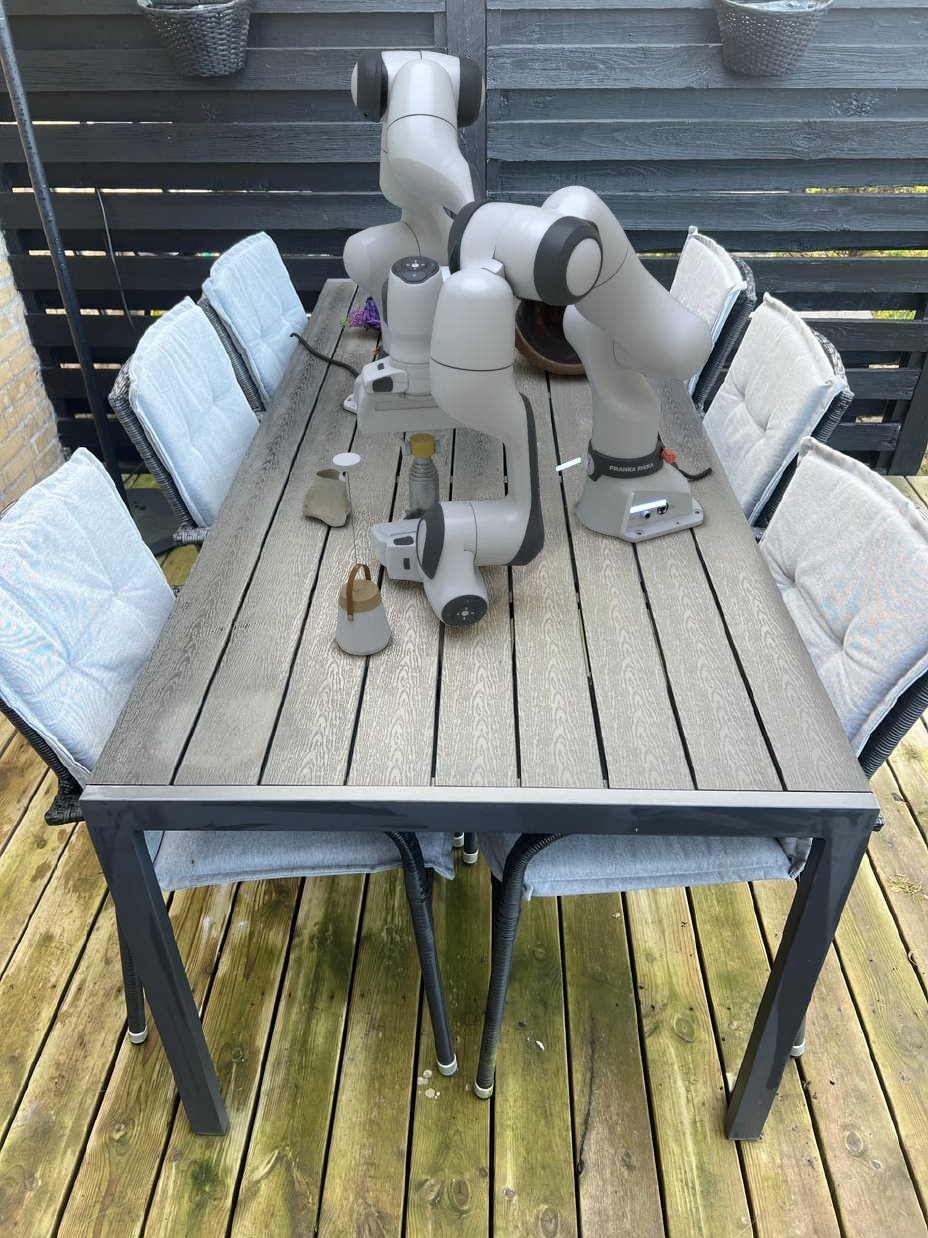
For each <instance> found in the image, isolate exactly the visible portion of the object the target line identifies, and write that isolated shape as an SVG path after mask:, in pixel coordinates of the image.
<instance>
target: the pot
mask: <svg viewBox="0 0 928 1238" xmlns="http://www.w3.org/2000/svg"><path fill="white" fill-rule="evenodd" d="M515 298H517V299H519V300H521V302H520V304H519V306H518V308H517V311H516V313H515V349H516V351H518V353H519V354H520V355H521V356H522V357H523V358H525V359H526V360H527V361H528V362H530V363H531V364H532V365H533V366H535V367H537V368H539V369H542V370H543V371H547V372H550V373H552V374H555V375H556V374H557V375H564V376H575V375H576V376H577V375H583V374H584V375H586V371H585V368H584V366H583V364H582V361H581V359H580V358H579V356H578V354H577V352H576V351H575V350H574V348H573V347H572V346H571V344H570V343H569V342H568V341H567V339H566V337H565V334H564V329H563V318H564V313H565V310H566V307H567V305H566V306H560V305H549V304H546V303H545V302H543V301H538V300H532V299H527V298H522V297H518V296H516V297H515Z"/></svg>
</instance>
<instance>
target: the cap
mask: <svg viewBox="0 0 928 1238" xmlns="http://www.w3.org/2000/svg"><path fill="white" fill-rule="evenodd" d="M435 440H436V438H435V435H433V434H430V433H428V432H419V433H414V434H413V435H411V436H410V437H409V442H410V445H411V452H412V455H411V456H413V457H414V456H415V457H419V458H426V457H430V456H432V457H433V456H434V455H435Z"/></svg>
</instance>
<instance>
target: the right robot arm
mask: <svg viewBox="0 0 928 1238" xmlns="http://www.w3.org/2000/svg"><path fill="white" fill-rule="evenodd" d="M453 220H454V221H453V223H452V226H451V229H450V232H449V238H448V266H449V271H450V276H449V277H448V278H447V279H446V280H445V282H444V283H443V285H442V288H441V291H440V295H439V299H438V303H437V307H436V312H435V317H434V323H433V329H432V338H431V348H430V367H429V373H430V388H431V393H432V396H433V398H434V400H435V402H436V403H437V405H438V406H439V408H440V409H441V410H442V411H443V412H444V413H445V414H447V415H448V416H449V417H450V418H452V419H453V420H455V421H456V422H458V423H460V424H462V425H464V426H466V427H468V429H472V430H474V431H477V432H480V433H482V434H485V435H488V436H490V437H493V438H495V439H497V440H498V441H500V442H501V443H503V444H504V445H503V446H504V449H505V459H506V472H507V473H506V474H507V484H508V492H507V494H506V495H505V496H503V497H502V498H499V499H484V500H483V499H482V500H450V501H449V500H447V501H445V500H444V501H440V502H435V503H434V504H433V505H431V506H430V507H429V508H428V509H427V511H426V512H425V513H424V515H423V516H422V517H421V518H419V519H411V517H412V514H411V512H410V509H405V510H404V509H403V510H401V512H400V513H401V514H400V515H401V516H400V518H399V519H398V520H397V521H391V522H390V521H389V522H382V523H375V524H373V525H371V527H370V528H369V537H370V545H371V548H372V550H373V553H374V555H375V557H376V559H377V560H378V562H379V563H380V565H382V566H383V567H386V571H387V574H388V577H389V578H390V579H392V580H402V581H403V580H405V581H413V582H420V583H423V588H424V592H425V595H426V597H427V600H428V602H429V604H430V606H431V608H432V610H433V611H434V613H435V615H436V616H437V618H438V619H439V620H440V621H441V622H442V623H443V624H445V625H446V626H449V627H452V628H463V627H468V626H472V625H474V624H476V623H477V624H478V622H480V621H481V620H483V619H484V618H485V616H486V615H487V613H488V611H489V607H490V605H489V598H488V597H489V596H488V591H487V588H486V584H485V582H484V579H483V576H482V573H481V572H480V569H479V567H485V566H508V567H510V566H511V567H526V566H527V565H529V564H530V563H532V561H534V560H535V559H536V558H537V556H539V554H540V553H541V552H542V551H543V549H544V547H545V539H546V536H545V534H546V531H545V523H544V517H543V509H542V503H541V502H542V501H541V490H540V489H541V487H540V472H539V454H538V452H539V451H538V438H537V429H536V419H535V414H534V410H533V407H532V404H531V402H530V399H529V397H528V396H527V395H526V394H523V393H522V392H520V391H519V389H518V387H517V384H516V381H515V375H514V364H515V363H514V362H515V349H516V348H515V313H516V311H517V308H518V306H519V304H520V302H521V300H519V299H517V298H515V297H516V296H518V297H522V298H527V299H532V300H538V301H543V302H545V303H546V304H549V305H560V306H566V305H567V307H566V310H565V313H564V318H563V329H564V334H565V337H566V339H567V341H568V342H569V343H570V344H571V346H572V347H573V348H574V350H575V351H576V352H577V354H578V356H579V358H580V359H581V361H582V364H583V366H584V368H585V371H586V373H585V375H586V377H587V381H588V383H589V387H590V391H591V399H592V420H591V421H592V422H591V423H592V424H591V437H590V438H589V440H588V446H587V454H586V459H585V465H586V466H585V469H586V470H585V471H586V478H585V483H584V487H583V491H582V494H581V497H580V500H579V503H578V505H577V507H576V509H575V515H576V518H577V520H578V521H579V522H580V524H582V526H584V527H585V528H587V529H589V530H591V531H593V532H596V533H600V534H602V535H606V536H611V537H615V538H616V537H617V538H619V539H622V540H624V541H626V542H629V543H633V544H635V543H640V542H645V541H647V540H651V539H655V538H659V537H661V536H665V535H669V534H672V533H676V532H679V531H683V530H686V529H691V528H694V527H697V526H701V525H702V524H703V522H704V510H703V508H702V507H701V505H700V504H699V502H698V501H697V500H696V498H695V497H693V492H692V487H691V485H690V483H689V481H688V480H694V481H695V480H700V479H702V478H704V477H706V475H708V474H709V473H712V472H713V468H712V467H708V468H706V469H705V470H703V471H701V472H700V473H698V474H689V473H688V472H686V471H684V470H683V469H681V468H679V465H678V463H677V462H676V459H677V454H676V453H675V452H673V450H672V449H671V448H666V445H665V444H664V443H663V442H662V441H660V440H658V435H659V428H660V420H661V412H662V405H661V401H660V398H659V396H658V394H657V392H656V391H655V390H654V389H653V387H652V386H651V385H650V384H649V382H648V381H647V380H646V378H645V376H644V375H646V376H648V377H651V378H654V379H660V380H661V379H662V380H668V381H680V382H686V381H689V380H690V379H692V378H693V377H695V376H697V374H699V373H700V371H701V370H703V368H704V367H705V365H706V364H707V362H708V360H709V358H710V355H711V352H712V348H713V335H712V330H711V327H710V324H709V322H708V321H707V320H706V319H704V318H703V317H702V316H700V315H698V314H697V313H695V312H694V311H692V310H691V309H689V308H687V306H685V305H684V304H682V302H680V300H678V299H677V298H676V297H675V296H674V295H672V294H671V292H670V291H668V290H667V289H666V287H664V286H663V285H662V283H660V282H659V281H658V280H657V279H656V278H655V277H654V276H653V275H652V274H651V273H650V272H649V271H648V270H647V268H646V267H645V266H644V265H643V263H642V261H641V260H640V258H639V256H638V255H637V252H636V250H635V249H634V247H633V246H632V244H631V242H630V239H629V238H628V236H627V234H626V232H625V231H624V228H623V226H622V225H621V223H620V222H619V221H618V219H617V217H616V216H615V214H614V213H613V211H611V209H610V208H609V206H608V205H607V204H606V203H605V202H604V201H603V200H602V199H601V198H600V196H599V195H597V193H595V192H594V191H593V190H592V189H590V188H588V187H585V186H581V185H570V186H565V187H562V188H560V189H558V190H556V191H555V192H553V193H552V194H550V195H549V196H548V197H547V198H546V200H544V202H543V204H542V205H541V206H536V205H532V204H531V205H530V204H529V205H528V204H520V203H513V202H503V201H500V200H498V199H488V198H486V199H485V198H484V200H477V201H473V202H470V203H468V204H466V205H465V206H464V207H463V208H462V209H461V210H460V211H459V213H458V214H457V215H456V216H455V217H454V218H453ZM578 463H581V458H580V457H578V458H575V459H573V460H570V461H568V462H565V463H563V464H561V465H558V466H556V471H557V472H559V471H562V470H563V469H566V468H568V467H571V466H573V465H576V464H578Z"/></svg>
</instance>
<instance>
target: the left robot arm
mask: <svg viewBox="0 0 928 1238" xmlns="http://www.w3.org/2000/svg"><path fill="white" fill-rule="evenodd" d="M350 91H351V97H352V100H353V104H354V105H355V109H356V112H357V114H359V115H360V117H361V118H362V119H364V120H367V121H369V122H372V123H375V124H379V123H380V122H381V123H382V127H381V138H380V139H381V141H380V158H379V159H380V160H379V182H378V183H379V187H380V191H381V192H382V194H383V196H384V198H385V199H386V201H388V202H389V203H391V204H392V205H394V206H395V207H398V208H400V209H401V218H400V220H399V221H396V222H390V223H387V224H386V223H384V224H379V225H375V226H370V227H367V228H365V229H363V230H360V231H358V232H357V233H355V234H352V235H351V236H349V237H348V239H347V240H346V242H345V245H344V247H343V257H342V259H343V266H344V269H345V271H346V274H347V275H348V277H349V278H350V280H351V281H352V282H353V283H354V284H355V285H357V286H358V287H360V288H362V289H363V290H364V291H366V293H368V294H369V296H371V297H372V298H373V300H374V302H375V303H376V306H377V308H378V311H379V315H380V322H381V329H380V330H382V333H381V339H382V344H380V345H378V347H377V348H375V349H374V350H372V351H371V352H372V353H373V354H372V357H375V356H377V359H376V360H375V361H372V362H370V363H367V364H365V365H364V366H363V367H362V370H361V373H360V374H359V373H358V372H357V371H356V369H355V368H354V367H353V366H352V365H350V364H347V363H345V362H343V361H339V360H336V359H333V358H331V357H329V356H326V355H324V354H322V353H320V352H318V351H317V350H315V349H314V348H312V347H311V346H310V345H309V343H308V342H307V341H306V340H305V339H304V338H303V337H301V335H300V334H298V333H297V332H291V333H290V335H289V338H293V337H295V338H297V339H298V340H299V341H300V342H301V343H302V344H303V345H304V346H305V347H306V349H307V351H309V352H311V354H313V355H315V356H316V357H318V358H320V359H322V360H324V361H327V362H329V363H332V364H334V365H338V366H341V367H344V368H346V369H348V370H349V371H350V372H351V373H352V374H353V376H354V377H356V379H355V380H354V383H353V384H354V385H353V392H352V393H350V394H349V395H348V396H347V397H346V398H345V400H344V401H343V409H345V410H347V411H349V412H352V413H353V414H356V420H357V429H358V431H359V432H360V433H361V434H362V435H365V436H366V435H380V434H394V439H395V441H396V442H397V443H398V445H399V446H400V447H401V455H402V457H411V456H413V455H412V452H411V445H410V441H406V440H405V439H404V436H405V435H404V433H410V432H411V433H412V432H423V431H424V432H425V431H437V430H440V435H439V437H438V439H435V453H434V455H436V454H437V455H438V454H444V453H445V444H446V443H447V441H448V439H449V438H450V436H451V430H453V429H467V428H468V429H469V427H466V426H464V425H462V424H460V423H458V422H456V421H455V420H453V419H452V418H450V417H449V416H448V415H447V414H445V413H444V412H443V411H442V410H441V409H440V408H439V406H438V405H437V403H436V402H435V400H434V398H433V396H432V393H431V388H430V373H429V367H430V348H431V338H432V329H433V323H434V317H435V312H436V307H437V303H438V299H439V295H440V291H441V288H442V285H443V283H444V282H445V280H446V279H447V278H448V277H449V276H450V271H449V266H448V238H449V232H450V229H451V226H452V223H453V221H454V218H452V217H450V216H449V215H448V213H446V211H445V208H446V209H448V210H449V211H451V212H453V213H454V214H455V215H456V216H457V214H458V213H459V211H460V210H461V209H462V208H463V207H464V206H465V205H466V204H468V203H470V202H473V201H477V200H485V195H484V191H483V190H484V189H483V186H482V180H481V178H480V175H479V172H478V170H477V168H476V166H475V165H473V164H472V163H470V162H468V161H467V160H466V159H465V157H464V156H463V154H462V152H461V149H460V146H459V143H458V142H459V141H458V129H462V128H467V127H471V126H472V125H473V124H474V123H475V122H476V121H477V120H479V116H480V114H481V111H482V110H483V108H484V107H483V106H484V104H485V99H486V84H485V79H484V76H483V70H482V68H481V66H480V65H479V63H478V61H477V60H474V59H472V58H470V57H467V56H463V55H458V56H454V55H450V54H446V53H441V52H436V51H430V50H422V49H421V50H420V51H417V50H385V51H382V49H381V48H379V49H371V50H365V51H363V52H362V53H361V54H360V55H359V56H358V57H357V59H356V63H355V65H354V67H353V70H352V73H351V79H350Z"/></svg>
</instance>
